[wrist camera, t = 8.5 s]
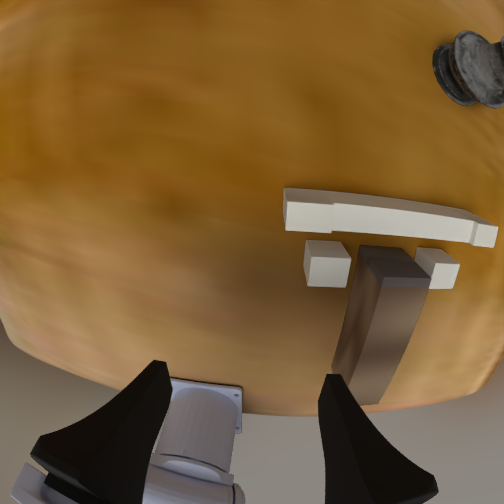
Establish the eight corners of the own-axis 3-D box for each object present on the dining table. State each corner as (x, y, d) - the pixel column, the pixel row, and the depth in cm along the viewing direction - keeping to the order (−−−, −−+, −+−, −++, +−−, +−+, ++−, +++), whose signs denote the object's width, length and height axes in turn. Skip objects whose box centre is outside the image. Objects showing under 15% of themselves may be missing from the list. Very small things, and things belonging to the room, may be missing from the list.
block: (365, 364, 23) (378, 403, 18) (331, 365, 23) (339, 407, 19) (401, 247, 19) (431, 278, 14) (359, 245, 19) (383, 277, 14)
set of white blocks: (449, 271, 19) (476, 298, 15) (278, 264, 20) (280, 297, 16) (464, 209, 17) (498, 227, 13) (283, 187, 18) (287, 201, 13)
